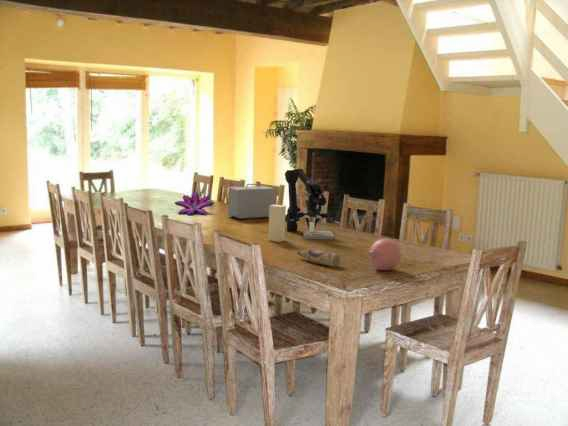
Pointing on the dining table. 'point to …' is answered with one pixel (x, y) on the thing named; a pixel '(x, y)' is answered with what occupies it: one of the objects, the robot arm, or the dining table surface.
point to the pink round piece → (384, 254)
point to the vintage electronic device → (251, 201)
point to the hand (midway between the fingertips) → (311, 228)
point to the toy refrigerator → (276, 223)
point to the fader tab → (311, 227)
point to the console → (318, 235)
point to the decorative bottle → (321, 257)
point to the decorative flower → (194, 204)
